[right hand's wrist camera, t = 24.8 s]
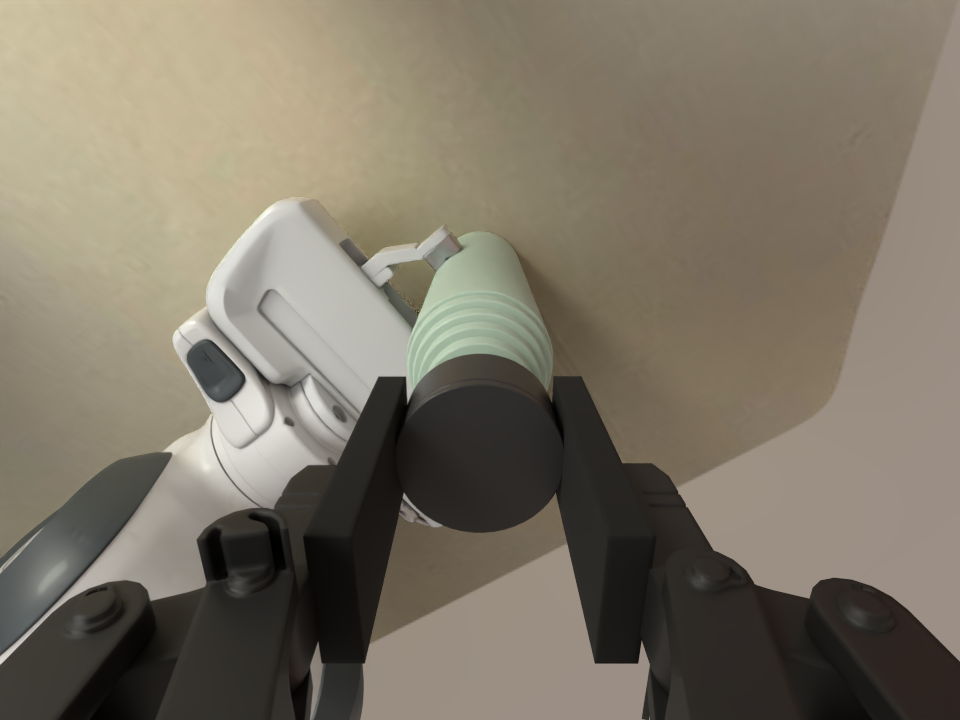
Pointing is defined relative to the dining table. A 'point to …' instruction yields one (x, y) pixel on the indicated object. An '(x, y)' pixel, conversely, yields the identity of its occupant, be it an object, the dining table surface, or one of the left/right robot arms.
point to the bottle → (480, 312)
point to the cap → (479, 444)
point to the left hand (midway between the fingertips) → (492, 284)
